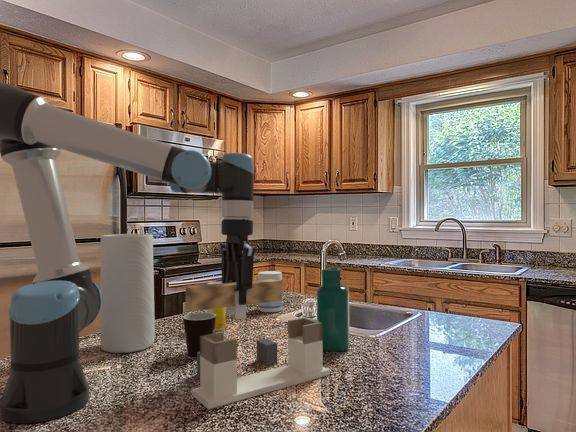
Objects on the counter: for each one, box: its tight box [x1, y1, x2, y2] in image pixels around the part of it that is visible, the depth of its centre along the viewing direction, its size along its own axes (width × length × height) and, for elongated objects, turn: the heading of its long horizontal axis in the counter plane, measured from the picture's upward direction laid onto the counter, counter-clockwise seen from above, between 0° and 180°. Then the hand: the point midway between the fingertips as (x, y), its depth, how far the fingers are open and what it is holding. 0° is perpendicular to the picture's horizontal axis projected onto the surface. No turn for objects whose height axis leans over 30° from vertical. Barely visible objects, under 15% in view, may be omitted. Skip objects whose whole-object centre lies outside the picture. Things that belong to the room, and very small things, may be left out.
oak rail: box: [185, 279, 283, 312], centre depth 103 cm, size 24×4×5 cm, turn 125°
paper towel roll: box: [99, 233, 156, 354], centre depth 121 cm, size 14×14×32 cm
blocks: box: [196, 338, 278, 377], centre depth 103 cm, size 19×5×5 cm, turn 125°
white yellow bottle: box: [205, 281, 227, 332], centre depth 139 cm, size 6×6×15 cm
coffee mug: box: [182, 312, 216, 359], centre depth 116 cm, size 12×9×10 cm
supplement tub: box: [257, 270, 284, 313], centre depth 166 cm, size 10×10×15 cm
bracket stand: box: [191, 316, 331, 410], centre depth 93 cm, size 30×8×12 cm, turn 125°
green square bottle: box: [316, 267, 351, 352], centre depth 119 cm, size 10×8×22 cm
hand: (235, 316), depth 103 cm, fingers closed on oak rail, 4 cm apart
